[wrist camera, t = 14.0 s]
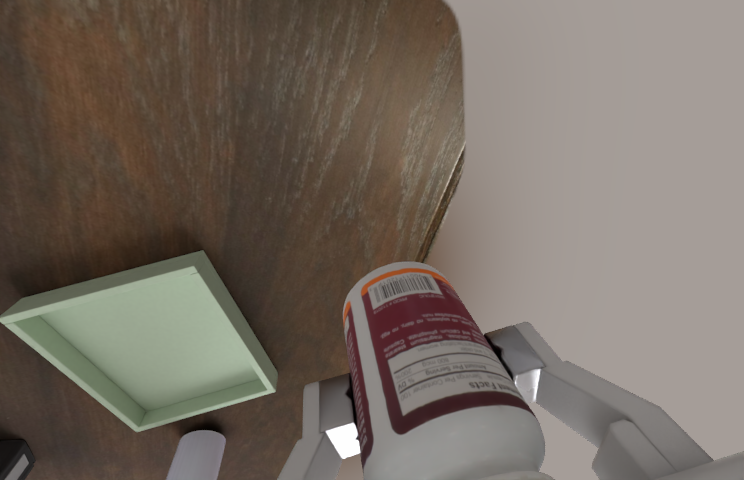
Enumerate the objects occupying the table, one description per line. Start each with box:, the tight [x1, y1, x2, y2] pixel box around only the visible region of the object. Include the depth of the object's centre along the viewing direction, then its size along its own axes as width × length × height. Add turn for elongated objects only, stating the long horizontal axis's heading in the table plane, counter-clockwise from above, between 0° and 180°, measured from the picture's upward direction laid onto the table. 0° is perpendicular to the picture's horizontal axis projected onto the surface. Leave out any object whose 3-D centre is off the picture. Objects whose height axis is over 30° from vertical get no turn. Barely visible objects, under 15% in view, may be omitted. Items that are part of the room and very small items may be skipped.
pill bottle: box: [343, 262, 554, 480], centre depth 9 cm, size 5×5×8 cm
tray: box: [0, 250, 278, 432], centre depth 25 cm, size 15×13×2 cm
